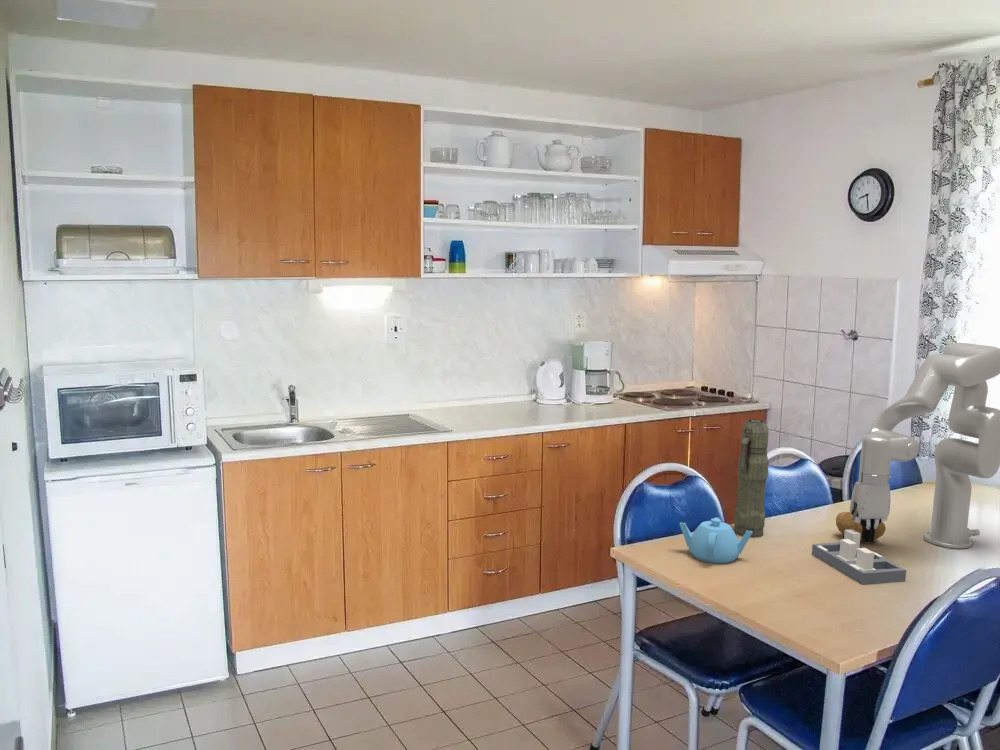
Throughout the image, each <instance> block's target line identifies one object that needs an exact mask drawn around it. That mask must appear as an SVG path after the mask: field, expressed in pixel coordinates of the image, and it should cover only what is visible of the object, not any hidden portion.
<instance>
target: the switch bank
mask: <svg viewBox="0 0 1000 750" xmlns="http://www.w3.org/2000/svg"><path fill="white" fill-rule="evenodd" d="M840 542H841V541H839V542H837V541H836V542H826V543H825V542H824V543H812V547H811V555H812V556H814V557H816V558H817V559H819V560H820V561H822V562H824V563H826V564H827V565H829V566H831V567H832V568H834V569H836V570H838V571H839V572H840V573H842V574H843V575H846V576H847V577H849V578H851V579H852V580H854V581H856V582H858V583H859V584H861V585H872V584H873V585H874V584H882V583H883V584H885V583H896V582H897V583H899V582H906V578H907V577H906V576H907V569H905V568H903V567H901V566H899V565H897V564H896V563H894V562H892V561H890V560H888V559H887V558H885V557H883V555H881V554H879V553H877V552H876V551H873V552H874V560H873V568H874V569H876V570H870V571H862V570H861V569H860V568H859V567H857V566H855V565H853V564H856V561H845V560H843V559H841V558H839V557H838V556H836V555H839V553H840ZM859 548H865V547H864V546H862V545H860V546H859ZM856 557H857V550H856Z"/></svg>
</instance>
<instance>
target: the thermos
mask: <svg viewBox="0 0 1000 750" xmlns="http://www.w3.org/2000/svg"><path fill="white" fill-rule="evenodd" d="M769 431H770V430H769V428H768V424H767V422H766V421H764V420H763V419H756V418H755V419H754V418H751V419H747V420H745V421H744V425H743V427H742V429H741V441H740V442H741V444H740V454H739V456H738V460H737V473H736V475H737V478H738V481H737V482H738V484H737V496H736V498H737V500H736V507H735V509H734V516H733V524H734V526H733V528H734V529H733V531H734V533H735V535H738V536H740V537H743V536H744V534H745V533H746V531H752V534H751V536H750V538H760V537H762V536H764V528H765V525H766V523H765V521H766V511H765V508H764V507H765V496H766V495H765V494H766V482H767V480H768V475H769V458H768V447H769V446H768V444H769V433H770V432H769Z"/></svg>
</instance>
